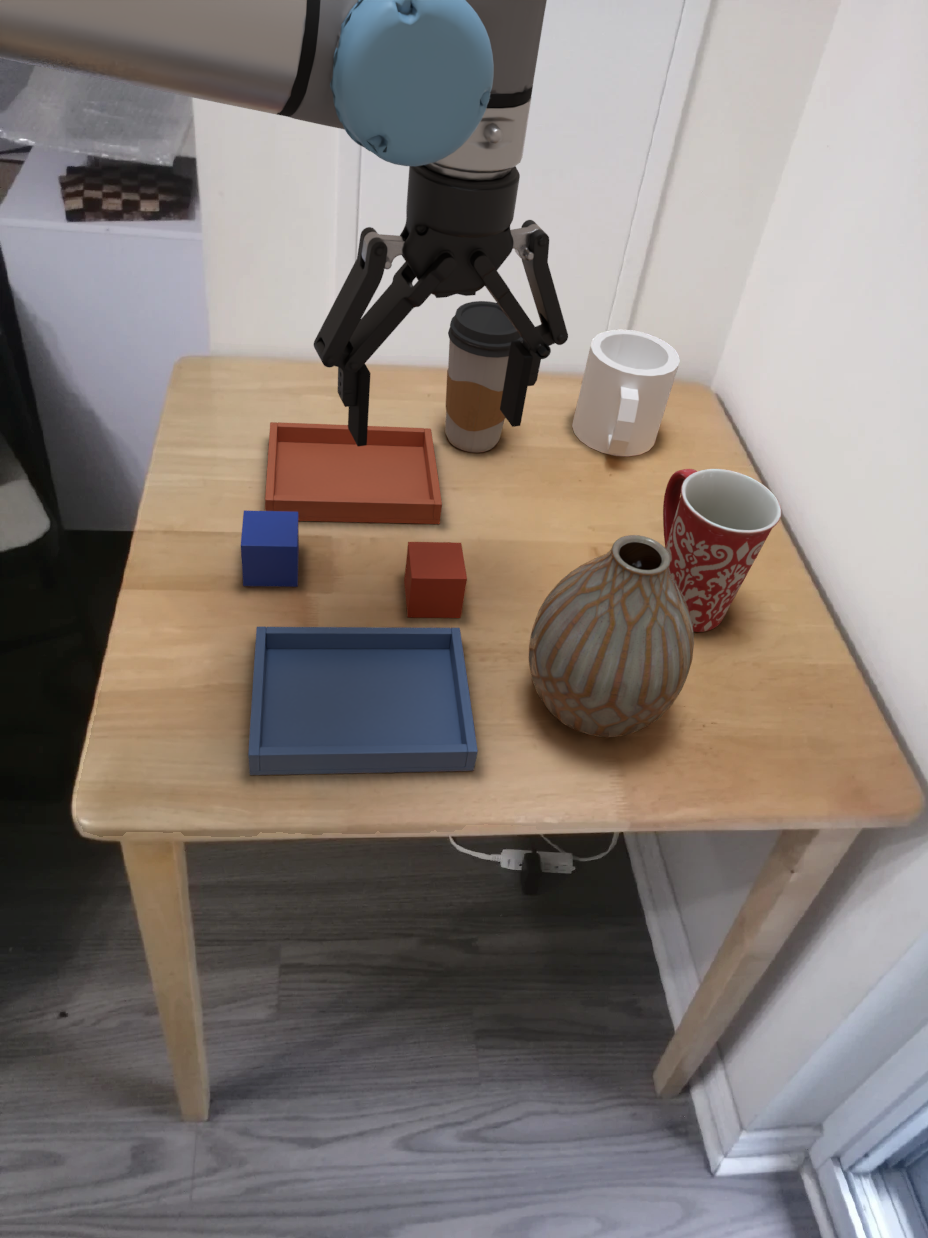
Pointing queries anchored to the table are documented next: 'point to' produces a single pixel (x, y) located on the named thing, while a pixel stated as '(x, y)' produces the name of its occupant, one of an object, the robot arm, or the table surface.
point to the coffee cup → (477, 375)
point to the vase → (613, 641)
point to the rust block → (434, 580)
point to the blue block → (270, 548)
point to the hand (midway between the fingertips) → (435, 427)
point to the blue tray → (360, 701)
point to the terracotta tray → (353, 474)
